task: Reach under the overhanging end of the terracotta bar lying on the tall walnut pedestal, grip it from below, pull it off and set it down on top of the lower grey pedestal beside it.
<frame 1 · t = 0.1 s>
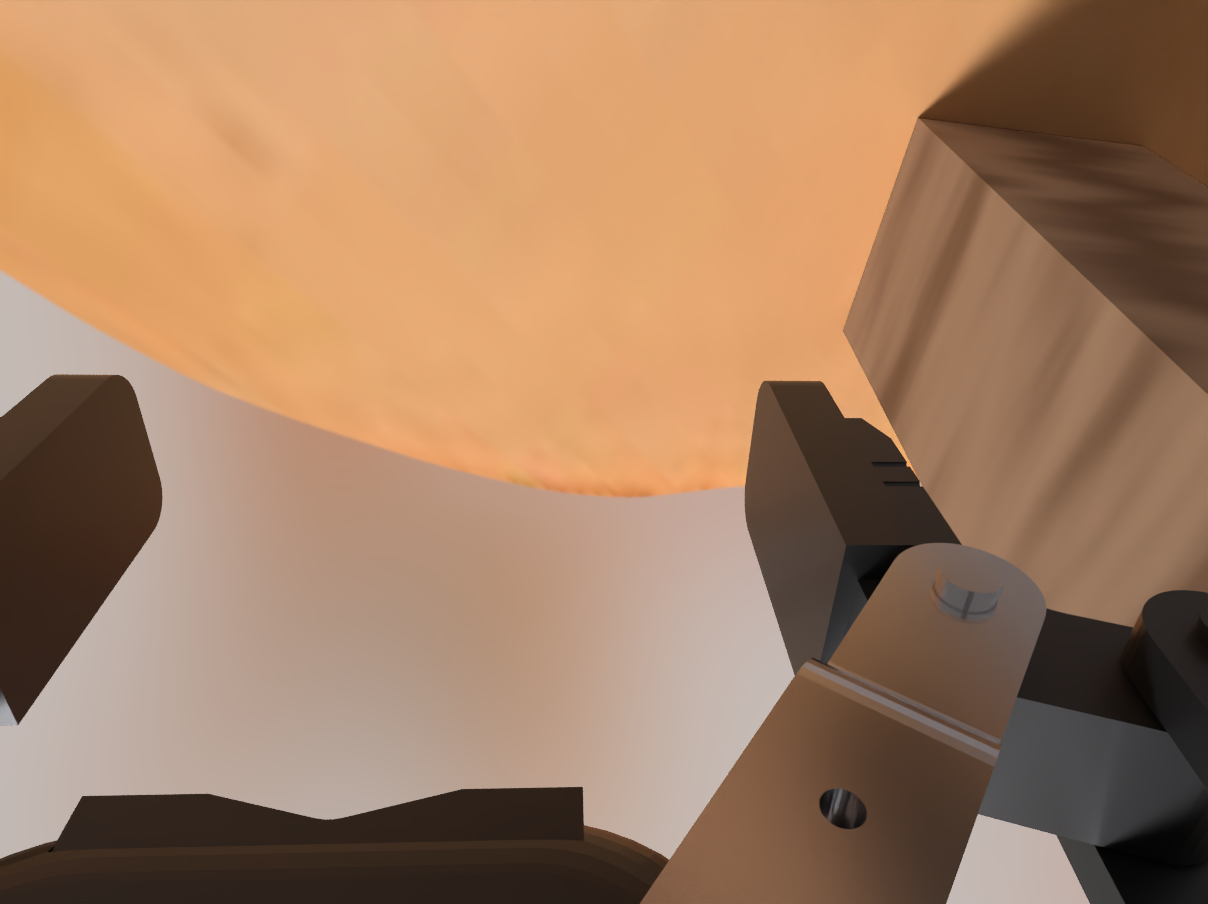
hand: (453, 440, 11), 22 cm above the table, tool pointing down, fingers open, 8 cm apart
tall pedestal: (983, 244, 34), on the table
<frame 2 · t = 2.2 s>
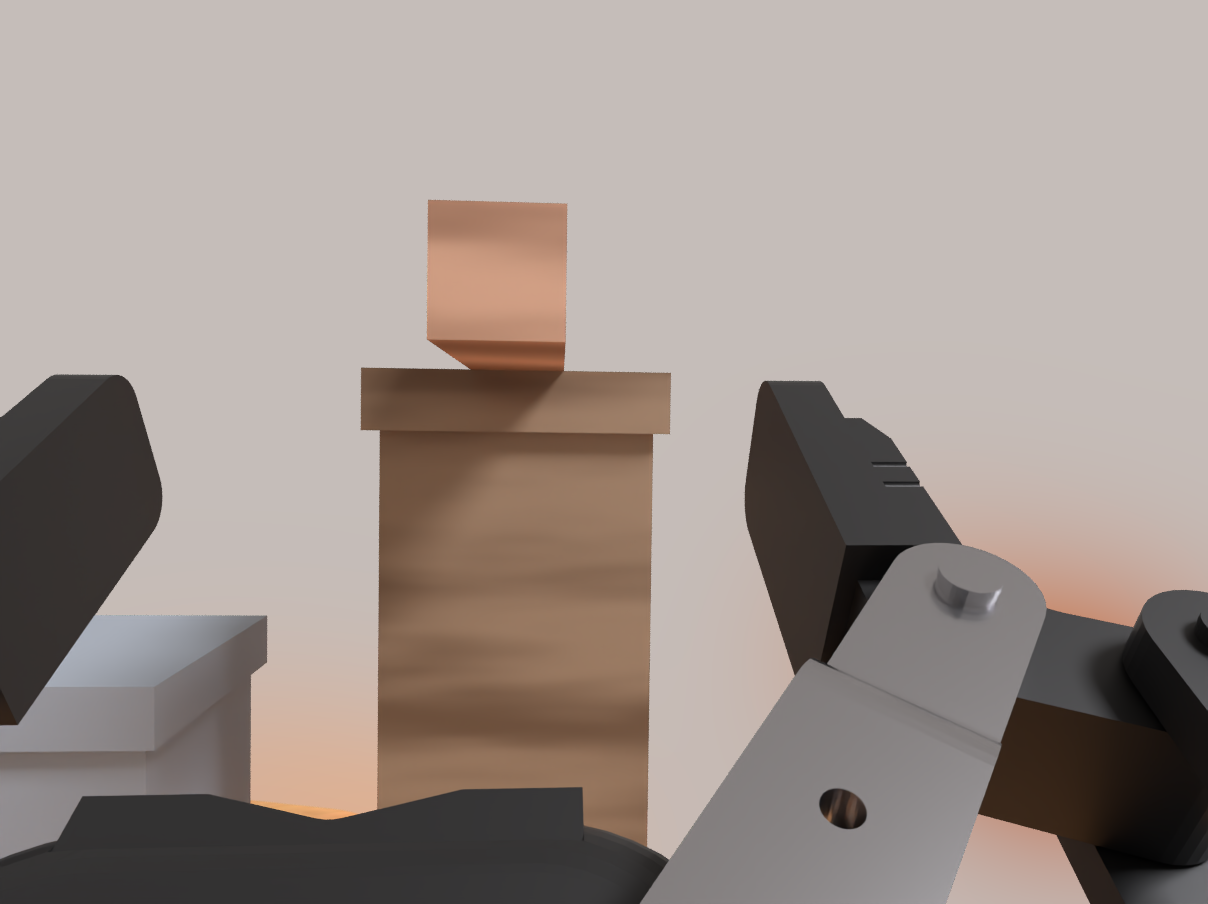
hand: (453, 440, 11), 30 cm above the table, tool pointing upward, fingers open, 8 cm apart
terracotta bar: (520, 374, 29), point 32 cm above the table, touching tall pedestal
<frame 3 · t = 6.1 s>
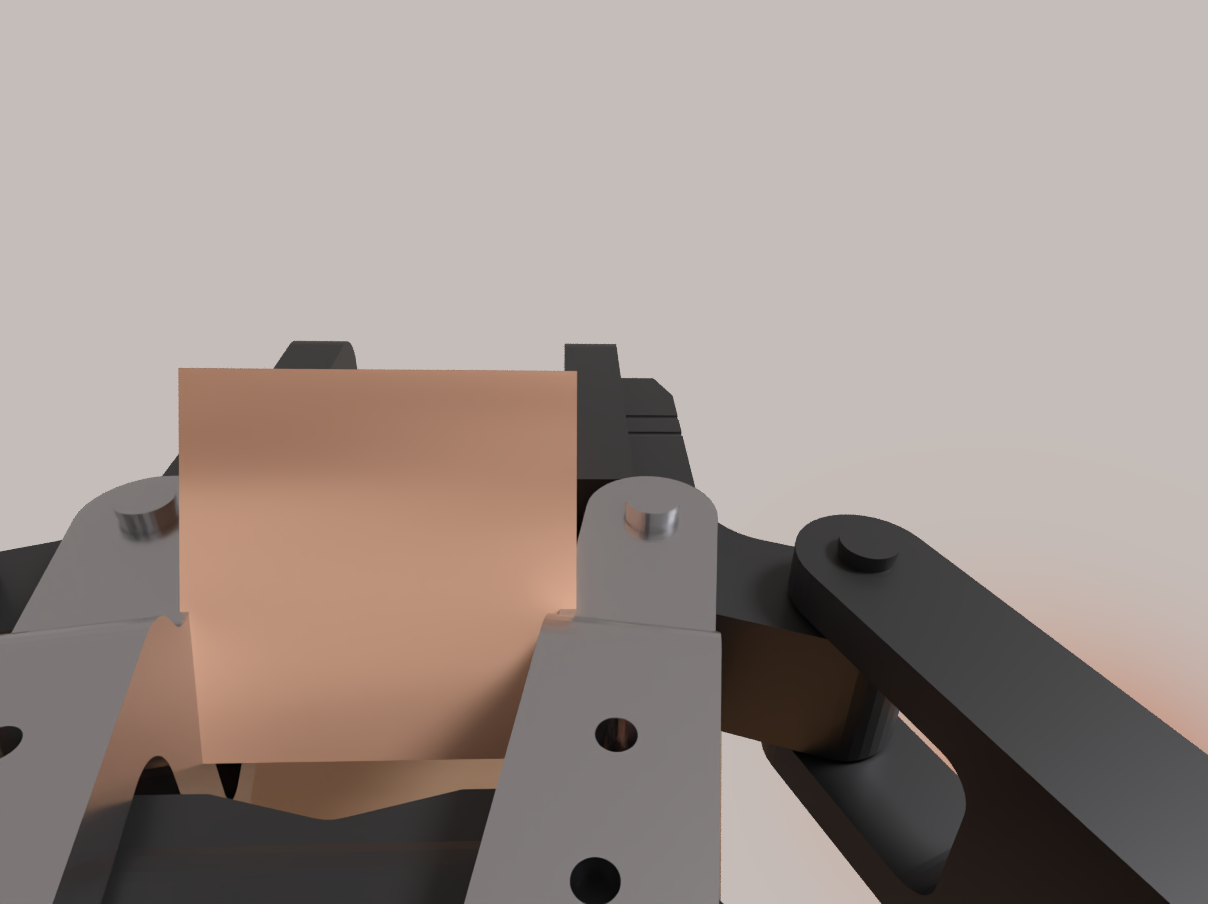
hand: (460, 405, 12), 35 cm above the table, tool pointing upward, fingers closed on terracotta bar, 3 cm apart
terracotta bar: (493, 557, 17), point 32 cm above the table, touching gripper, tall pedestal
when the fingers open (26 cm above the table, at t = 13.1 s): terracotta bar drops 1 cm, resting on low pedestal.
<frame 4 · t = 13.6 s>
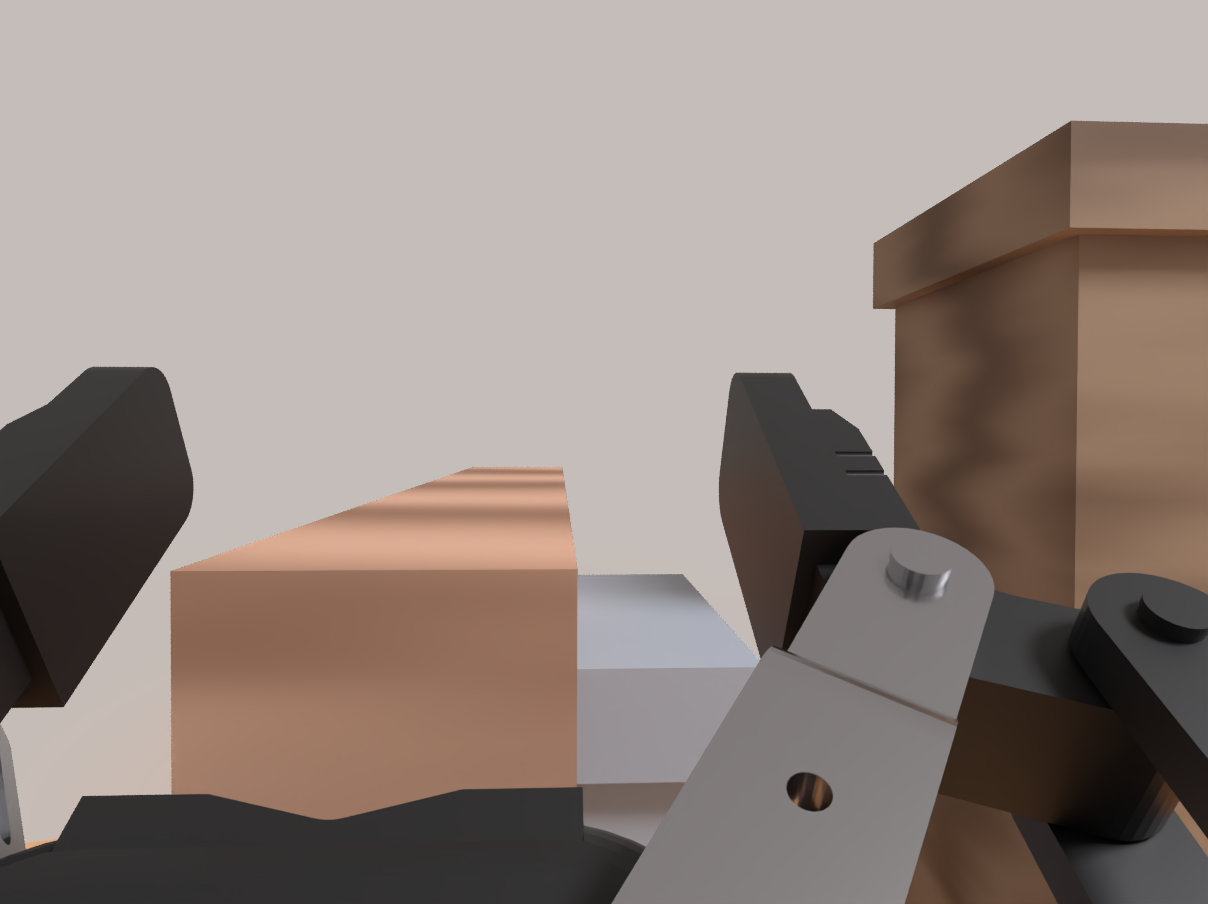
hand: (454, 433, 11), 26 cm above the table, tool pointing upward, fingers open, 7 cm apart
terracotta bar: (491, 631, 17), point 22 cm above the table, touching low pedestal
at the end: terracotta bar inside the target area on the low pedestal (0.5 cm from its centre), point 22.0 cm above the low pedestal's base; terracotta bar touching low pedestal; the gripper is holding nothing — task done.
